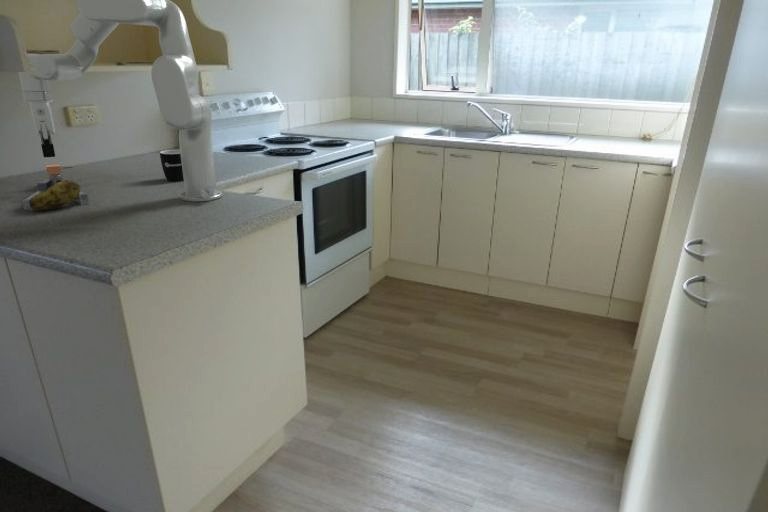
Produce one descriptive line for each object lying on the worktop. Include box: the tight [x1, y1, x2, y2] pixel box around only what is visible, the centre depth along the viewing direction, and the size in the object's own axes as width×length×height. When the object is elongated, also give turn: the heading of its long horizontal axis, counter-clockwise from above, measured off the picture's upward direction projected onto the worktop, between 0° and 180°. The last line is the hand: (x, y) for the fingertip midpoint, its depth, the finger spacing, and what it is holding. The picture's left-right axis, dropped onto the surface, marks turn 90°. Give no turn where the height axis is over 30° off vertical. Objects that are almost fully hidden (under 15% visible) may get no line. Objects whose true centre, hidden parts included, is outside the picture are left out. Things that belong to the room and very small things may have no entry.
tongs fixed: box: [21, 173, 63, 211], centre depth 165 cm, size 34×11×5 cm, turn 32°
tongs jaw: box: [55, 176, 91, 206], centre depth 164 cm, size 23×2×5 cm, turn 47°
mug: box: [159, 149, 184, 183], centre depth 188 cm, size 12×9×10 cm
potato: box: [29, 180, 81, 212], centre depth 151 cm, size 8×13×8 cm, turn 109°
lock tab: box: [45, 164, 62, 175], centre depth 174 cm, size 3×4×2 cm
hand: (49, 156), depth 167 cm, fingers closed
